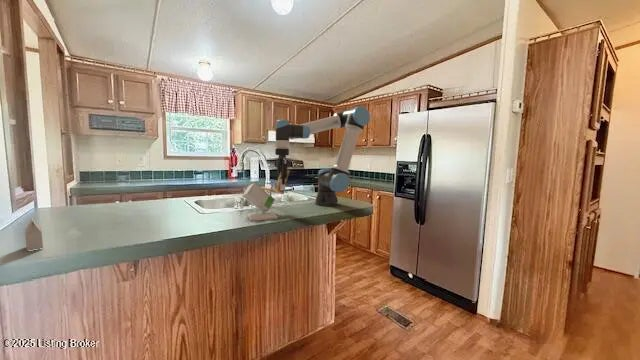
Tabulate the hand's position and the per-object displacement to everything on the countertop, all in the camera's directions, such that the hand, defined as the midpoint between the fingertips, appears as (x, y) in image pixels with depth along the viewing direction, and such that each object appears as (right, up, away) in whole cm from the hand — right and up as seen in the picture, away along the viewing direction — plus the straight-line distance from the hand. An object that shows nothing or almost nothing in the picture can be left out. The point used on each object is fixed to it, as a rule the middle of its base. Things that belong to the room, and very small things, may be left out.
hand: (281, 189), depth 155 cm
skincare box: (-6, -9, -2) cm, 11 cm away
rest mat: (-8, -14, -13) cm, 21 cm away
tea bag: (-76, -18, -62) cm, 99 cm away
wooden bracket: (-5, -1, -2) cm, 6 cm away
